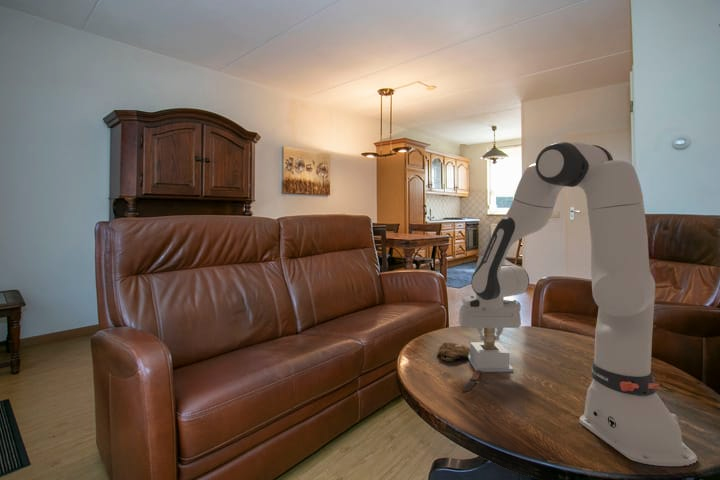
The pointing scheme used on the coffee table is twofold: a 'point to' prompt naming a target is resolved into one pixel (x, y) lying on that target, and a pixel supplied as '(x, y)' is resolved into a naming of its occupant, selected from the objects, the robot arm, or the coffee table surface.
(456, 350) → the decorative rock
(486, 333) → the peg
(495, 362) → the socket
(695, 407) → the coffee table surface
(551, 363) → the coffee table surface
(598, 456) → the coffee table surface
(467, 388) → the knife
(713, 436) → the coffee table surface
